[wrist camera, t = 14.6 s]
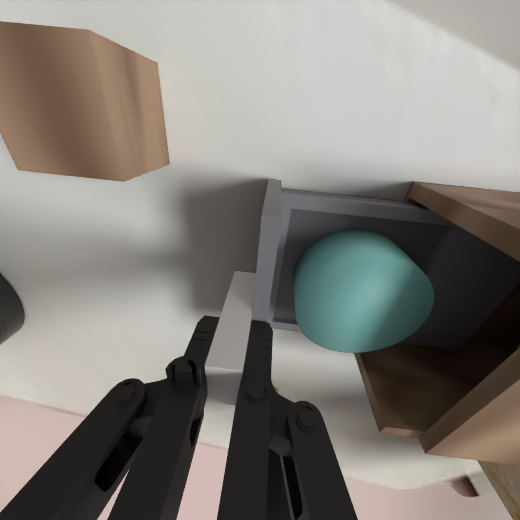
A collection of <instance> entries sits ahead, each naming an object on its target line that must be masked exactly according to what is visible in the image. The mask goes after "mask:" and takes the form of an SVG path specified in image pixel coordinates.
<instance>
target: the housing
mask: <svg viewBox="0 0 520 520" xmlns="http://www.w3.org/2000/svg"><path fill="white" fill-rule="evenodd" d="M404 202H410V203H420V204H422V205H424V206H425V207H427V208H429V209H430V210H432V211H434V212H436V213H437V214H439V215H441V216H442V217H444V218H446V219H448V220H449V221H451V222H453V223H454V224H456V225H458V226H460V227H461V228H463V229H465V230H466V231H468V232H470V233H472V234H473V235H475V236H477V237H478V238H480V239H482V240H483V241H485V242H487V243H489V244H490V245H492V246H494V247H495V248H497V249H499V250H501V251H502V252H504V253H506V254H507V255H509V256H511V257H513V258H514V259H516V260H518V261H519V262H520V193H518V192H509V191H499V190H490V189H480V188H471V187H461V186H452V185H442V184H433V183H423V182H414V181H413V183H412V185H411V187H410V190H409V192H408V194H407V197H406V199H405V201H404ZM354 355H355V358H356V361H357V364H358V367H359V370H360V373H361V376H362V379H363V383H364V386H365V389H366V392H367V395H368V398H369V401H370V404H371V408H372V411H373V414H374V417H375V420H376V423H377V426H378V429H379V432H380V433H383V434H391V435H399V436H407V437H415V438H419V440H420V442H421V445H422V447H423V449H424V452H425V454H432V455H440V456H448V457H456V458H464V459H472V460H479V461H487V462H495V463H503V464H511V465H519V466H520V283H519V284H518V285H517V286H516V287H515V288H514V289H513V291H512V292H511V293H510V294H509V295H508V296H507V297H506V298H505V300H504V301H503V302H502V303H501V304H500V305H499V306H498V307H497V308H496V310H495V311H494V312H493V313H492V314H491V315H490V316H489V317H488V318H487V320H486V321H485V322H484V323H483V324H482V325H481V326H480V327H479V329H478V330H477V331H476V332H475V333H474V334H473V335H472V336H471V337H470V339H469V340H468V341H467V342H466V343H465V344H464V345H463V346H462V347H461V349H460V350H452V349H444V348H435V347H427V346H418V345H410V344H401V343H396V344H394V345H391V346H388V347H386V348H382V349H379V350H374V351H369V352H360V353H354Z"/></svg>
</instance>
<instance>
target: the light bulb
mask: <svg viewBox="0 0 520 520" xmlns="http://www.w3.org/2000/svg"><path fill="white" fill-rule="evenodd" d="M275 390H276V389H275ZM276 391H277V392H278V394H280V395H281V396H282V394H281V393H280V392H279V391H278V390H276ZM266 520H291V516H290V511H289V505H288V499H287V494H286V488H285V482H284V477H283V471H282V466H281V460H280V454H278V453H276V452H275V451H273V450H271V449H270V448H269V461H268V485H267V508H266Z"/></svg>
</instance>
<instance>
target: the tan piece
mask: <svg viewBox="0 0 520 520" xmlns="http://www.w3.org/2000/svg"><path fill="white" fill-rule="evenodd" d="M477 461H478V463H479V464H480V466H481V468H482V469H483V471H484V473H485V474H486V476H487V478H488V479H489V481H490V482H491V484H492V486H493V487H494V489H495V491H496V492H497V494H498V496H499V497H500V499H501V500H502V502H503V504H504V505H505V507H506V509H507V510H508V512H509V514H510V515H511V517H512V519H513V520H520V466H519V465H511V464H503V463H495V462H487V461H479V460H477Z"/></svg>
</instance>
